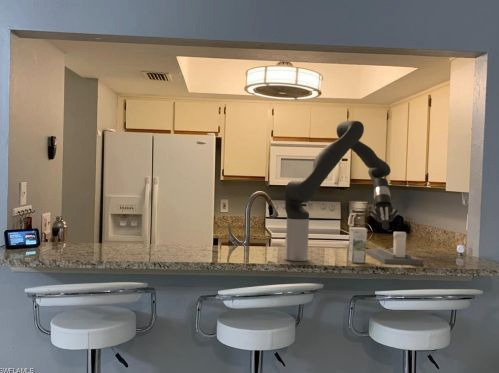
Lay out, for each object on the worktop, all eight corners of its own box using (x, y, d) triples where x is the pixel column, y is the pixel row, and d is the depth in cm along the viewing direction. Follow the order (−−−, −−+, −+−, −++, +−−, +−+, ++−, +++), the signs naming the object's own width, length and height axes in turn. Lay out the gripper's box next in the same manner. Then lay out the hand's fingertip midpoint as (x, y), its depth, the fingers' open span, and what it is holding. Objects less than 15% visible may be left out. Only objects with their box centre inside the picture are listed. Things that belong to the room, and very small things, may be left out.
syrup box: (361, 261, 173) (362, 226, 173) (365, 263, 167) (367, 228, 167) (348, 260, 172) (349, 226, 172) (352, 263, 167) (353, 228, 166)
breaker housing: (384, 263, 168) (384, 255, 168) (366, 253, 192) (366, 246, 192) (422, 264, 168) (422, 256, 168) (399, 254, 192) (399, 247, 192)
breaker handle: (395, 257, 171) (396, 232, 171) (392, 255, 175) (393, 231, 175) (405, 257, 172) (406, 232, 172) (402, 256, 175) (403, 231, 175)
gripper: (368, 194, 195) (370, 225, 185) (397, 192, 192) (401, 223, 181) (368, 202, 201) (371, 233, 191) (396, 201, 197) (400, 232, 187)
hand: (386, 228), depth 186 cm, fingers closed
